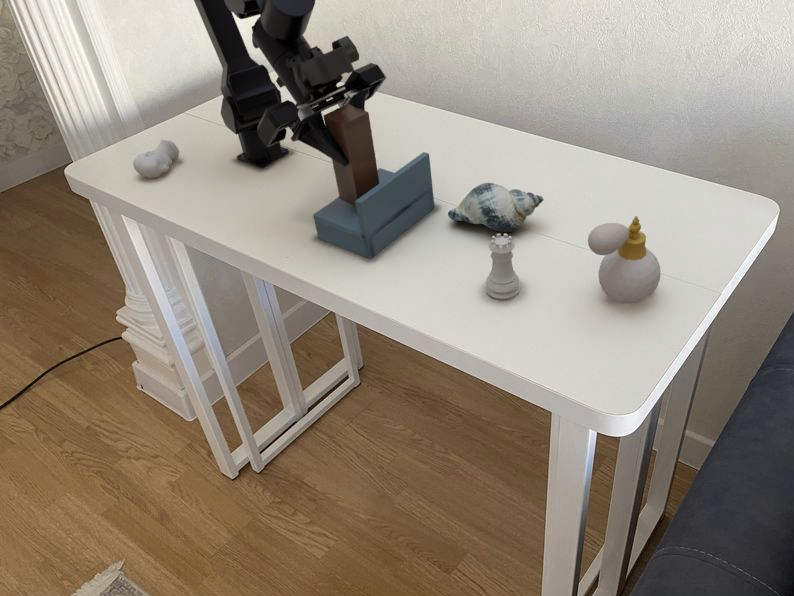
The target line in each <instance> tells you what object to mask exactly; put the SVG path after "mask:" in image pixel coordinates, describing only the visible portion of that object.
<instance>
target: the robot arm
mask: <svg viewBox="0 0 794 596" xmlns="http://www.w3.org/2000/svg"><path fill="white" fill-rule="evenodd" d="M193 2H194V4H195V6H196V9H197V11H198V13H199V16H200V19H201V20H202V23H203V26H204V28H205V30H206V32H207V34H208V35H207V36H208V37H209V40H210V42H211V45H212V46H213V49H214V51H215V54H216V56H217V58H218V60H219V63H220V65H221V68H222V73H221V80H220V91H221V94H222V96H223V97H222V102H221V107H220V115H221V117H222V120H223V123H224V125H225V127H226V128H228V129H229V130H230V131H231V132H232V133H233V134H234V135H236V136H238V139H239V140H238V141H239V143H240V146H241V150H242V152H241V153H240V154H238V155H236V160H237V161H240V162H243V163H246V164H248V165H252V166H255V167H257V168H261V169H263V168H265V167H268V166H270V165H271V164H272V163H274V162H276V161H277V160H279V159H281V158H283V157H284V156H286V155H287V154H289V153H290V151H289V149H288V148H286V147H283V146H282V145H281V142H282V141H284V140H285V139H286V137H287V128H289V130H290V131H291V132H292V135H291V137H290V140H291V141H292V142H293V143H294V142H297V141H299V142H301V143H303V144H304V145H306V146H309V147H310V148H313V149H315V150H316V151H318V152H319V153H321V154H323V155H325V156H327V158H330V159H331V160H332V159H333V160H335V161H336V162H338V163H339V164H341V165H342V166H344V167H345V166H347V165H348V164H349V161H348V160H347V158H346V156H345V154H344V152H343V151H342V149H341V148H340V146H339V145H338V144H337V142H336V141H335V139H334V138H333V136H332V135H331V134H330V132H329V131H328V129H327V128H326V126H325V121H324V116H323V113H322V112H324V111H326V110H328V109H330V108H332V107H335V106H338V108H340V107H342V106H344V105H346V104H349V105H352V106H354V107H357V108H359V109H362V110H364V111H366V107H365V106H366V105H365V104H366V101H368V100H370V99H371V98H373V96H374V95H375V94H376V93H377V91H378V90H379V89H380V87H381V86H382V84H383V83H384V82H385V80H386V79H387V76H386V74H385V72H384V71H383V70H382V68H381V67H380V66H379V65H378V64H376V63H373V62H370V63H368V64H366V65H362V66H361V67H358V68H357V69H355V68H354V66H353V63H355V62H357V61H359V60H360V54H359V51H358V49H357V47H356V45H355V44H354V42H353V41H352V39H351V38H350V37H349V35H346V36H343V37H340V38H338V39H336V40H334V41H332V42H331V48H332V50H330V51H328V52H325V53H324V52H323V51H322V49H321V48H320V47H318V45H315V46H313V47H311V45H310V44H309V42H308V40H307V39H306V37H305V36H304V34H305V32H306V30H307V27H308V25H309V22H310V19H311V16H312V14H313V11H314V8H315V4H316V0H193ZM234 16H235V17H236V18H238V19H240V20H244V19H245V20H246V19H249V18H252V17H256V16H259V17H258V18H257V19H256V21H255V22H254V25H252V26H251V31H252V33H251V43H252V46H253V48H254V49H259V50H260V52H261V53H262V54H263V56H264V57H265V59H266V60H267V62H268V64H269V65H270V67H271V68H272V69H273V71H274V72H275V73H276V75H277V78H276V80H275V83H276V84H275V83H274V82H273V81H272V79H271V76H270V73H269V70H268V68H267V67H266V66H265V65H264V64H259V63H258V62H257V61H255V60H254V59H253V58H252V57H251V55H250V53H249V51H248V48H247V47H246V44H245V42H244V39H243V36H242V34H241V32H240V29H239V27H238V24H237V22H236V19H235V17H234ZM346 73H347V74H350V75H349V76H348V78H347V79H346V81H345V82H344V83H343V84H342V85H340V86H338V84H339V83H341V81H342V80H343V78H344V76H343V75H344V74H346ZM277 85H278V86H277ZM278 87H279V88H280V89H281V88H283V87H285V88H286V90H287V91H288V93H289V94H290V96H291V97H292V98H293V100H294V101H291V100H289V99H287V100H284V101H283V100H282V93H281V90H280V89H279V88H278ZM294 102H295V103H294Z"/></svg>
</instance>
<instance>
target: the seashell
mask: <svg viewBox="0 0 794 596" xmlns="http://www.w3.org/2000/svg"><path fill="white" fill-rule="evenodd" d="M543 201H544V197H543V196H542V195H538V194H534V193H532V192H526V191H524V190H521V189H517V188H516V189H515V188H514V189H510V190H509V189H508V188H506V187H505V186H503V185H500V184H498V183H493V182H484V183H481V184H479V185H477V186H475V187H474V188H472V189H471V190H470V191H469V192H468V193H467V194H466V195H465V197H463V199H462V200H461V202H460V203H459V204H458V205H457V206H456V207H454V208H452V209H450V210H448V212H447V217H448V218H449V219H450V220H453V221H460V222H461V221H464V222H466V223H468V224H473V225H484V226H485V227H487V228H488V229H491V230H493V231H496V232H499V233H510V232H513V231H515V230H516V229H518V228H519V227H520V226H521V225H522V224H523V223H524V221H525V220H526V219H527V217H529V216H531V215H532V214H534V211H535V209H536V208H538V207H539V206H540V204H542V203H543Z"/></svg>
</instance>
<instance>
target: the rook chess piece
mask: <svg viewBox="0 0 794 596" xmlns="http://www.w3.org/2000/svg"><path fill="white" fill-rule="evenodd" d="M515 247H516V244H515V242H514V241H513V239H512V235H509V234H508V233H506V232H503V236H502V235H501V232H499V233H495V235H492V236H491V239H490V242H489V243H488V247H487V248H488V249H489V250H490V251H491V253H490V259H491V260H492V261H491V262H492V264H491V270H490V272H489V273H488V275H487V277H486V280H485V291H486V293H487V294H488V295H489V296H491V297H492V298H494V299H496V300H509V299H512V298H514V297H515V296H516V295H517V294H518V293H519V292H520V290H521V285H520V278H519V276H518V275H517V273H516V271H515V270H514V266H513V258H514V253H513V250H514V249H515Z"/></svg>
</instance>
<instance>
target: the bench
mask: <svg viewBox="0 0 794 596" xmlns="http://www.w3.org/2000/svg"><path fill="white" fill-rule="evenodd" d="M430 159H431V158H430V153H429V152H426V151H423V152H421V153H420V154H419V155H417V156H416V157H415V158H414V159H412V160H410V161H408V162H407V163H406V164H405V165H403V166H402V167H400V168H399V169H398V170H397V171H395V172H393V171H390V170H388V169H384V168H382V167H381V168H377V171H378V177H379V184H378V185H377V186H375V187H374V188H373V189H371V190H370V191H369V192H367V193H366V194H364V195H363V196H362V197H360V198H359V199H357V200H356V201H355V203H356V207H355V206H353V205H351V204H349V203H347V202H345V201H343V200H341V199H340V197H339V196H338V197H336V198H335V199H334V200H332V201H330V202H329V203H328V204H327V205H325V206H324V207H322V208H321V209H319V210H318V211H317V212H315V213H313V214H312V217H313V221H314V225H315V230H316V236H317V238H318V239H319V240H321V241H324V242H327V243H329V244H332V245H334V246H336V247H339V248H341V249H345V250H347V251H349V252H352V253H354V254H357V255H359V256H363V257H365V258H368V259H370V260H371V259H373V258H374V257H375V256H376V255H378V254H379V253H380V252H382V251H383V250H385V248H386V247H387V246H389V245H390V244H392V243H393V242H394V241H395V240H396V239H398V238H399V237H401V235H403V234H404V233H405V232H406V231H408V230H409V229H410V228H411V227H413V226H414V225H415V224H416V223H418V222H419V221H420V220H421V219H423V218H424V217H425V216H426V215H427V214H429V213H430V212H431V211H433V210H434V209H435V199H434V197H435V196H434V189H433V179H432V169H431V168H432V167H431V160H430Z"/></svg>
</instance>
